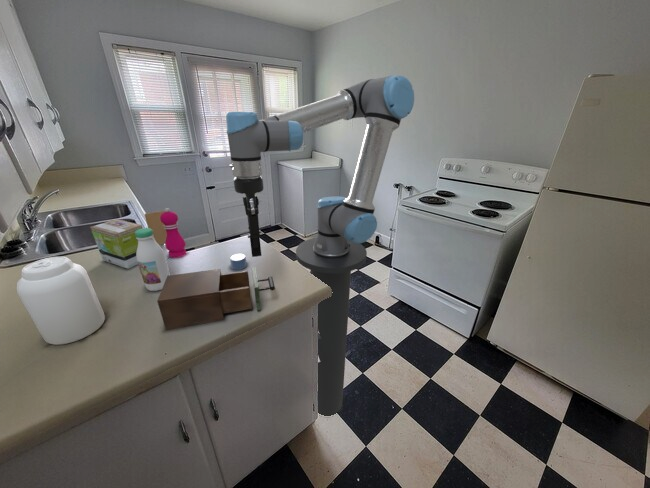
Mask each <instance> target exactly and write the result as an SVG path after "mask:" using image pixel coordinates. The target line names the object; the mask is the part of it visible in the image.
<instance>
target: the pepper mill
mask: <svg viewBox="0 0 650 488" xmlns="http://www.w3.org/2000/svg"><path fill="white" fill-rule="evenodd" d="M164 211H165V212H164V213H162V214H161V216H160V220H161V222H162V223H163V224H164V225H163V226H164V228H165V229H166V232H167V237H166V242H165V244H164V245H165V249H166V250H167V251H168V256H169V257H170V258H173V259H175V258H176V259H177V258H181V257H184V256H185V255H186V254H187V250H186V248H185V247H186V241H185V239H184V237H183V236H182V235H181V234H180V231H179V228H178V227H179V223H178V220H179V217H178V214H177V213H176V212H175V211H172V210H171V209H170V208H169V207H165V208H164Z"/></svg>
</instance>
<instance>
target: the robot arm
mask: <svg viewBox="0 0 650 488" xmlns="http://www.w3.org/2000/svg"><path fill="white" fill-rule="evenodd" d="M414 105H415V91H414V88H413V85H412V83H411V81H410V80H409V79H408V78H407V77H406V76H404V75H394V74H393V75H388V76H383V77H376V78H369V79H365V80H363V81H361V82H357V83H356V84H353V85H351V86H349V87H347V88H344V89H340V90H339V91H338V92H337V94H336V95H333V96H329V97H327V98H324V99H321V100H318V101H315V102H312V103H308V104H306V105H302V106H299V107H297V108H293V109H290V110H286V111H284V112H280V113H277V114H274V115H273V116H269V117H266V118H262V119H259V118H258V114H257V113H256V112H255V111H229V112H227V113H226V114H225V125H226V134H227V141H228V148H229V155H230V160H231V163H228V166H229V168H230V169H232V175H233V177H234V178H233V187H234V191H235V192H236V193H238V194H241V195H243V194H244V195H245V196H242V202H243V207H244V211H245V215H246V216H247V217H246V218H247V224H248V227H247V228H248V230H249V231H248V233H249V234H247V238H248V239H249V243H250V251H251V258H255V257H262V247H261V238H260V237H261V233H262V231H261V229H260V221H259V214H260V212H259V205H260V201H259V198H258V196H257V195H256V194H257V193H261V192H263V191H264V189H265V188H264V178H263V176H262V175H263V164H262V155H261V154H262V153H266V152H287V151H288V152H291V151H297V150H299V149H301V148H302V146H303V144H304V133H308V132H310V131H314V130H316V129H319V128H321V127H324V126H327V125H330V124H333V123H335V122H337V121H341V120H344V121H349V120H352V119H357V118H359V119H360V118H364V119H363V120H364V122H365V124H366V128H365V133H364V136H363V140H362V144H361V148H360V152H359V156H358V159H357V164H356V167H355V171H354V174H353V179H352V182H351V186H350V190H349V194H348V196H347V197H346V196H338V195H337V196H336V195H335V196H325V197H321V198H320V199H319V200H318V201H317V207H316V209H317V235H316V237H315V238H316V240H315V243H314V246H313V251H314V253H315V254H316V255H318V256H320V257H324V258H340V257H344V256H346V255H347V254H348V253H349V246H350V244H348V241H351V242H353V243H360V244H364V243H365V242H367V241H368V240H370V239H371V238H372V237H373V235H374V234H375V232H376V230H377V227H378V221H377V217H376V216H375V215H374V213H375V211H376V210H375V209H376V207H375V205H374V204H373V201H374V198H375V194H376V192H377V191H376V190H377V187H378V185H379V184H378V183H379V181H380V176H381V173H382V170H383V167H384V163H385V159H386V156H387V152H388V149H389V145H390V142H391V139H392V135H393V132H394V131H395V130H397V129H398V128H400V125H401V121H402V119H405V118H407V117H408V115H410V114H411V112H412V110H413V108H414Z"/></svg>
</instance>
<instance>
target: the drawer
mask: <svg viewBox="0 0 650 488" xmlns="http://www.w3.org/2000/svg"><path fill="white" fill-rule="evenodd" d="M251 273H252V274H251V275H252V281H253V282H252V283H253V290H254V291H253V292H254V299H255V306H256V311H260V310H262V306H261V297H260V296H261V295H260V292H261V291H268V290H270V291H272V292H273V291H275V290H276V286H275V283H274V279H273V276H272V275H269V276H268V277H265V278H259V279H258V275H257V273H258V272H257V268H256V267H252V268H251ZM267 281H268V286H264V287H260V286H259V283H260V282H267ZM219 295H220V300H221V306H222V311H223V314H224V315H225V314H230V313H235V312H241V311H246V310H252V309H253V303H252V295H251V286H250V279H249V270H241V271H240V270H239V271H234V272H226V273H221V275H220V287H219Z"/></svg>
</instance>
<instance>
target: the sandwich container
mask: <svg viewBox="0 0 650 488" xmlns="http://www.w3.org/2000/svg"><path fill="white" fill-rule="evenodd" d="M164 212H165V210H157V211H152V212H147V213H144V218H145V221H146V225H147V228H150V229H152V231H153V235H154V236H153V238H154V239H155V241H156V242H157V243H158V244H159V245H160V246H161V245H165V242H166V237H167V232H166V229H165V228H164V226H163V225H164V224H163V223H162V222H161V220H160V216H161V214H162V213H164Z"/></svg>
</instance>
